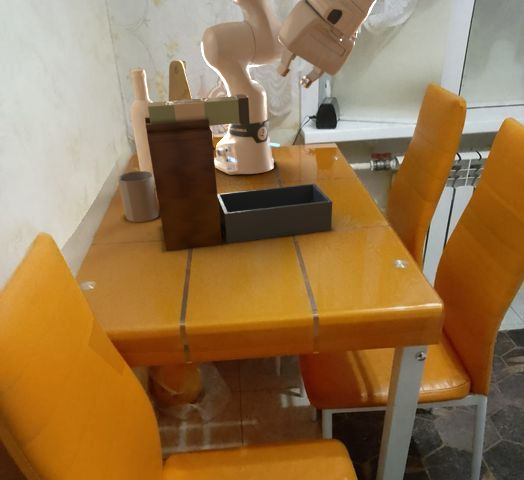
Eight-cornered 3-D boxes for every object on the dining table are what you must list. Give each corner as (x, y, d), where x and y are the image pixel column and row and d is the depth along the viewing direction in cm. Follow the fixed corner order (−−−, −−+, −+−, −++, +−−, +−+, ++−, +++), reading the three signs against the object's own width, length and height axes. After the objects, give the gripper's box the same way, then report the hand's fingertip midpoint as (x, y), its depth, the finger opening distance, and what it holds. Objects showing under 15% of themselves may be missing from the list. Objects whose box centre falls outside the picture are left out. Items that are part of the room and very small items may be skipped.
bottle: (141, 182, 148) (120, 69, 130) (167, 179, 150) (150, 67, 132) (144, 190, 142) (123, 72, 124) (171, 187, 144) (154, 70, 126)
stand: (213, 221, 121) (202, 109, 106) (222, 244, 110) (211, 122, 95) (162, 227, 119) (144, 114, 104) (166, 250, 108) (145, 128, 93)
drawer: (245, 118, 105) (244, 94, 102) (249, 123, 101) (248, 97, 98) (151, 126, 102) (147, 101, 99) (151, 132, 98) (147, 105, 95)
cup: (147, 207, 131) (140, 169, 125) (165, 214, 126) (159, 175, 120) (120, 216, 126) (111, 177, 120) (137, 224, 121) (129, 184, 115)
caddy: (186, 143, 184) (175, 50, 166) (214, 143, 184) (206, 49, 166) (172, 166, 161) (157, 61, 143) (204, 165, 160) (193, 59, 142)
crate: (313, 210, 125) (314, 183, 121) (331, 230, 114) (332, 201, 110) (218, 221, 121) (216, 193, 117) (227, 243, 110) (224, 213, 106)
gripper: (350, 22, 100) (307, 82, 107) (302, -20, 83) (254, 55, 91) (370, 42, 98) (324, 102, 106) (325, 4, 82) (275, 78, 89)
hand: (292, 80), depth 98 cm, fingers open, 8 cm apart
